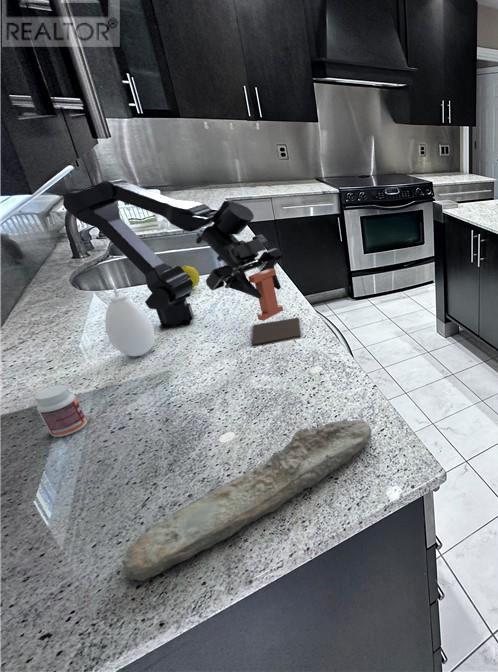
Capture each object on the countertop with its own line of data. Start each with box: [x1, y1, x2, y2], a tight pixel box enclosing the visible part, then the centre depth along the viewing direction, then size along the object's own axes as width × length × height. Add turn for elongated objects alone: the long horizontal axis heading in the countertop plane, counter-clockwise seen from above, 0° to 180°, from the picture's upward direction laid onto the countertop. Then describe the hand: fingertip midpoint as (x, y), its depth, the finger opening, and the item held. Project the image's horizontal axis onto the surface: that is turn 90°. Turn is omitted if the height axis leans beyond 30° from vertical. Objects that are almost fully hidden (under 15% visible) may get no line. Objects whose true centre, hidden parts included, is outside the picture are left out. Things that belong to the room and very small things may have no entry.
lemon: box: [181, 265, 201, 289], centre depth 130 cm, size 6×6×8 cm
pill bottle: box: [34, 384, 88, 438], centre depth 73 cm, size 5×5×8 cm
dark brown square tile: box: [251, 317, 302, 347], centre depth 109 cm, size 11×11×1 cm
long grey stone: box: [121, 419, 372, 582], centre depth 64 cm, size 35×5×10 cm
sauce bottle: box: [104, 285, 156, 357], centre depth 94 cm, size 8×8×18 cm
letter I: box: [247, 268, 284, 321], centre depth 104 cm, size 2×6×12 cm, turn 163°
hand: (270, 293), depth 103 cm, fingers closed on letter I, 5 cm apart
